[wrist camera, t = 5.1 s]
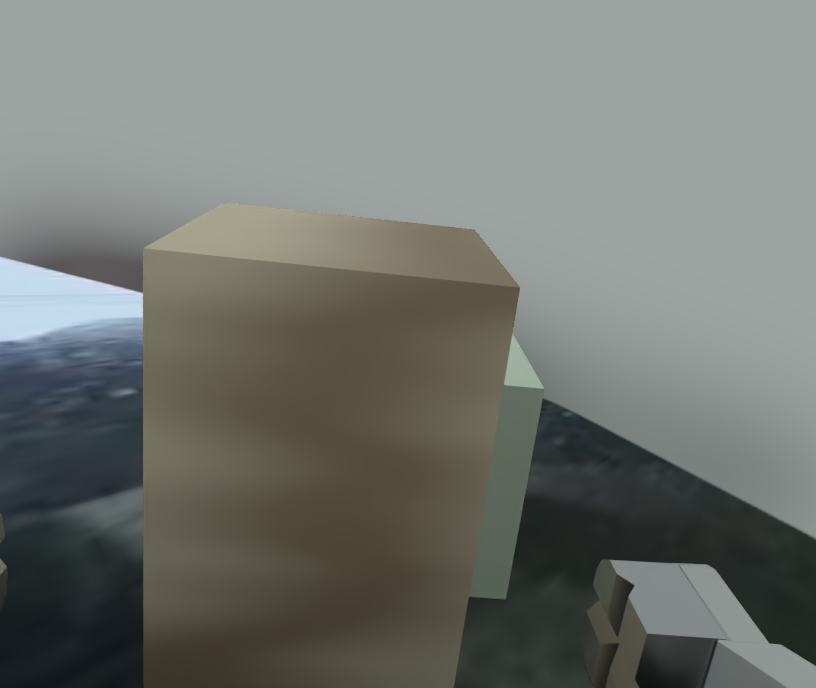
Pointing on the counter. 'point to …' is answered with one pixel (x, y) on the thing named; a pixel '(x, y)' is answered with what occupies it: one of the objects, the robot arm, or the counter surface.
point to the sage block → (507, 477)
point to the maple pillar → (315, 447)
